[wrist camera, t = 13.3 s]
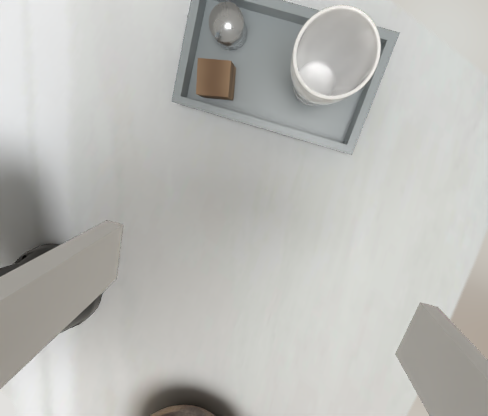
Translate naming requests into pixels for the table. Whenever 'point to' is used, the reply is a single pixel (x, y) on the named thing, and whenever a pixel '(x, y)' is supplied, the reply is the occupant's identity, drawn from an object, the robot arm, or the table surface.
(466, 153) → the table surface
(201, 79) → the walnut cube
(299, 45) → the drinking glass
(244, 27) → the metal cylinder
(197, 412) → the ceramic bowl
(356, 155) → the table surface
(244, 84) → the collection tray
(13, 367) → the robot arm
